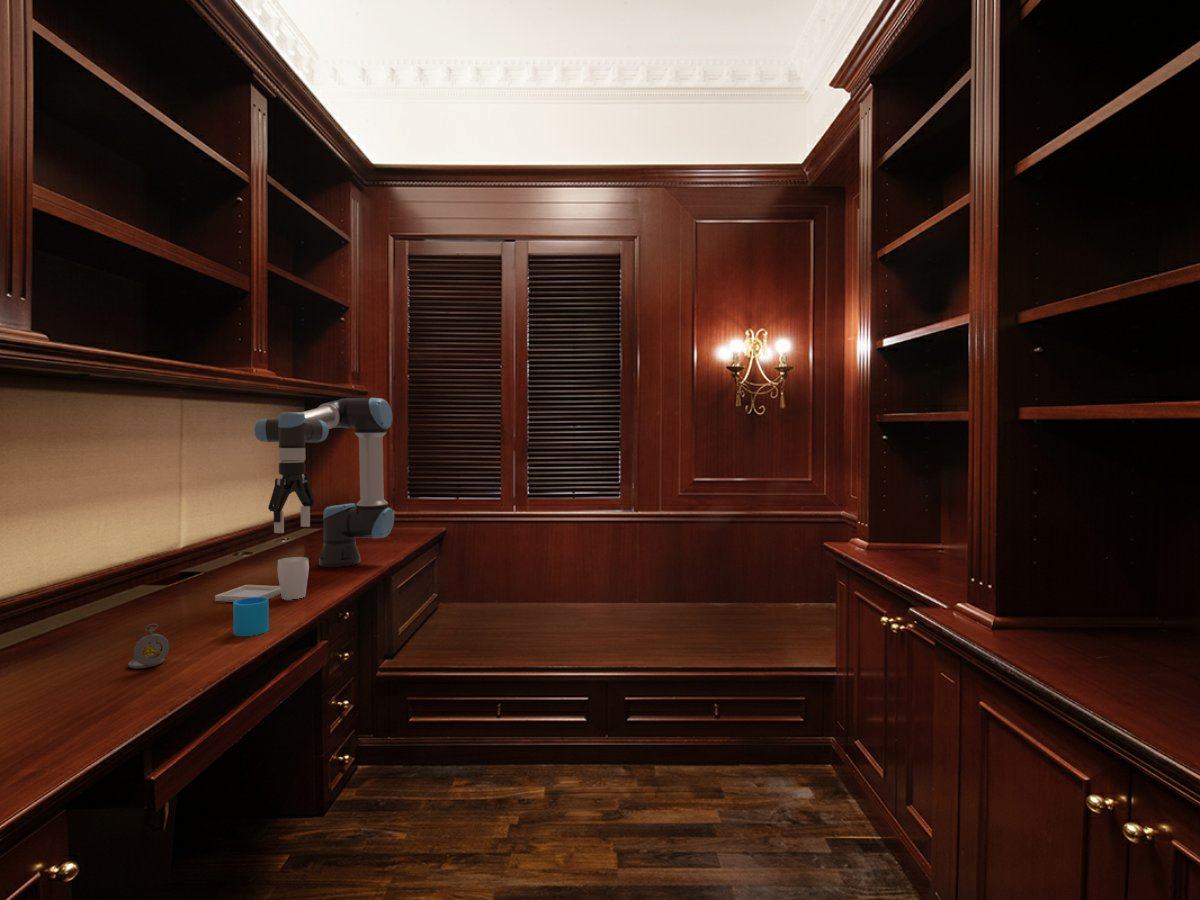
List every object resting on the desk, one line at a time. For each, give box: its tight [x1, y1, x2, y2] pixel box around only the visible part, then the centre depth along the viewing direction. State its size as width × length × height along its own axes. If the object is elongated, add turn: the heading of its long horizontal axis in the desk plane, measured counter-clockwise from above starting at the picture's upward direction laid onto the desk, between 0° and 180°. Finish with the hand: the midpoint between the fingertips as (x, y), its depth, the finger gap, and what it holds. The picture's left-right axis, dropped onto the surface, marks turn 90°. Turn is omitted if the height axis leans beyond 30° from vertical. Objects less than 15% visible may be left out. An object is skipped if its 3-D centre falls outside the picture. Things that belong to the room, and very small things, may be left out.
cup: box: [276, 556, 310, 601], centre depth 206 cm, size 9×9×12 cm
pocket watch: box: [128, 623, 170, 669], centre depth 146 cm, size 8×8×10 cm
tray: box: [214, 584, 281, 603], centre depth 206 cm, size 14×14×2 cm
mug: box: [232, 597, 270, 637], centre depth 173 cm, size 12×8×8 cm
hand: (292, 529), depth 205 cm, fingers open, 13 cm apart
